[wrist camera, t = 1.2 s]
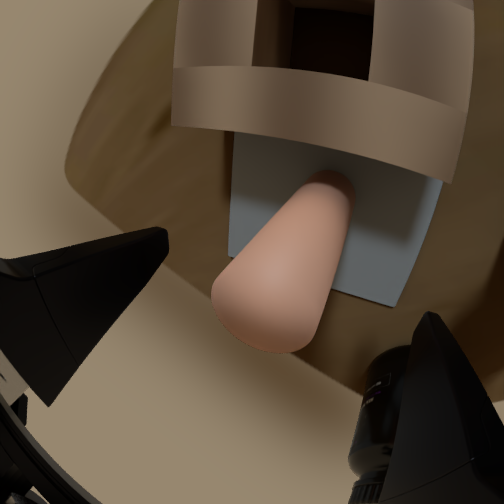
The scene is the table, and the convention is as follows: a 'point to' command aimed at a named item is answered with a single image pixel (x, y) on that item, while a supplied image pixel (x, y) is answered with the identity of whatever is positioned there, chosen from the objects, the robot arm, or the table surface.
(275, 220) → the dowel
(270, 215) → the mat
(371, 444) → the supplement bottle
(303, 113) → the socket block
